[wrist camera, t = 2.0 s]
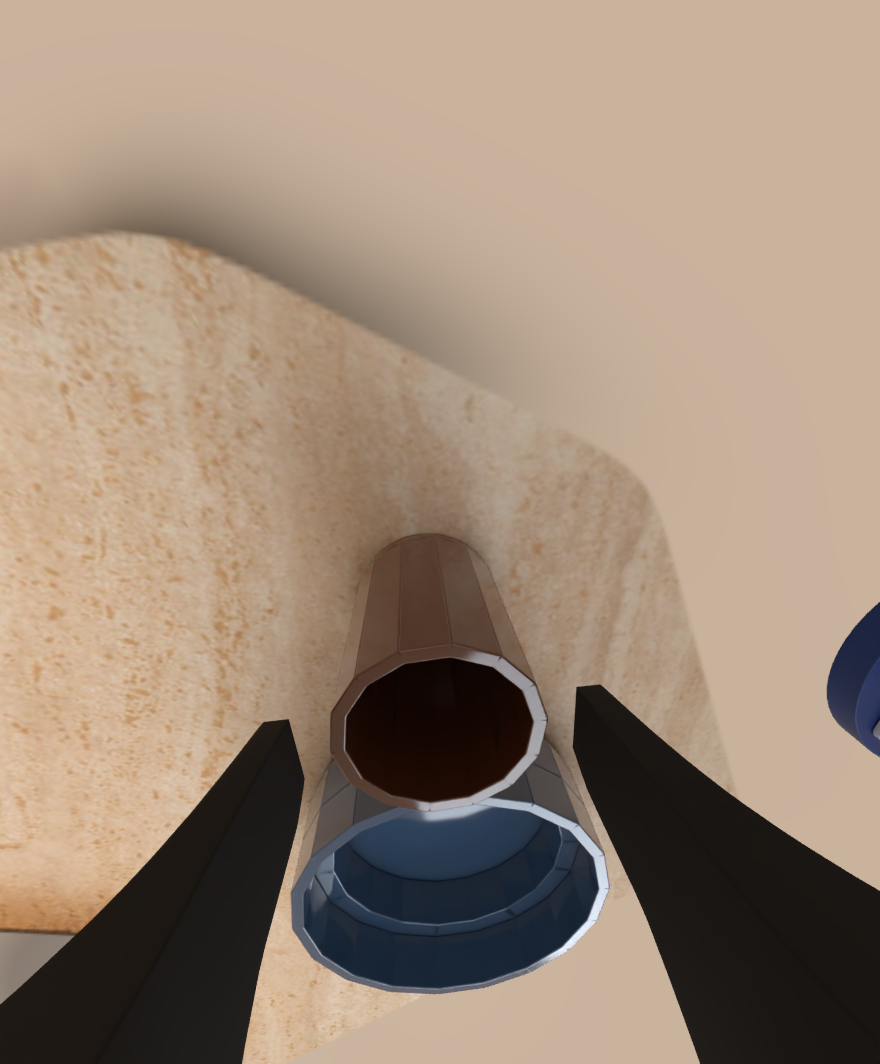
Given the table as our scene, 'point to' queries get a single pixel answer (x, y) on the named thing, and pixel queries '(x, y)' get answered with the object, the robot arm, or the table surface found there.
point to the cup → (433, 682)
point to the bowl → (448, 883)
